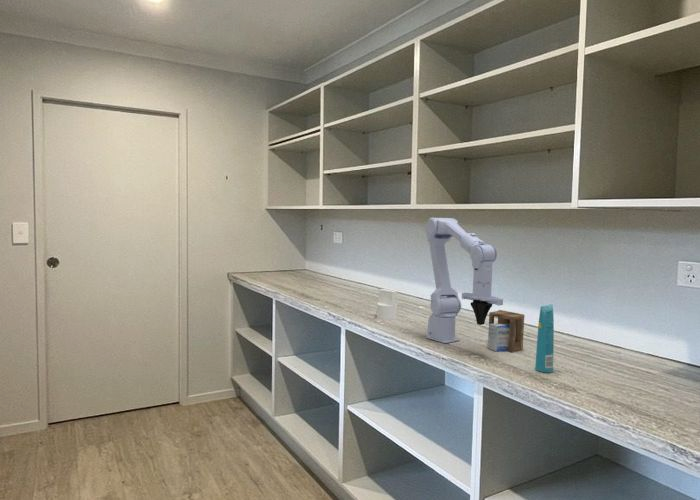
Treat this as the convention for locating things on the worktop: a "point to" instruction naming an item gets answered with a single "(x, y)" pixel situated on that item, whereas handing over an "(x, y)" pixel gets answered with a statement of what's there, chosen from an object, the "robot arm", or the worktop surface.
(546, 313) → the tube
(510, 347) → the walnut bay
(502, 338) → the medicine box
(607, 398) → the worktop surface
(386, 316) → the base with upright slab
